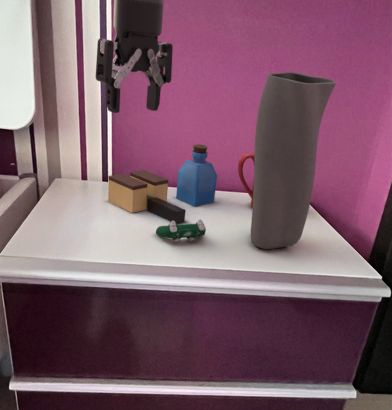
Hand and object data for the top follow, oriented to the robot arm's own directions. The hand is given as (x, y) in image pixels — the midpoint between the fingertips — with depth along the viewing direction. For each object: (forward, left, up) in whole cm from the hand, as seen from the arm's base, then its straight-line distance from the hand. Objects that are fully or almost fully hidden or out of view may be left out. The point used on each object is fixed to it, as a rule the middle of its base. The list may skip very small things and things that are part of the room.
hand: (133, 110), depth 94 cm
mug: (+37, -2, -23) cm, 44 cm away
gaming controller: (+8, -6, -23) cm, 25 cm away
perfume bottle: (+27, +9, -23) cm, 36 cm away
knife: (+14, +9, -23) cm, 28 cm away
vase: (+22, -17, -23) cm, 36 cm away
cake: (+14, +14, -23) cm, 30 cm away
